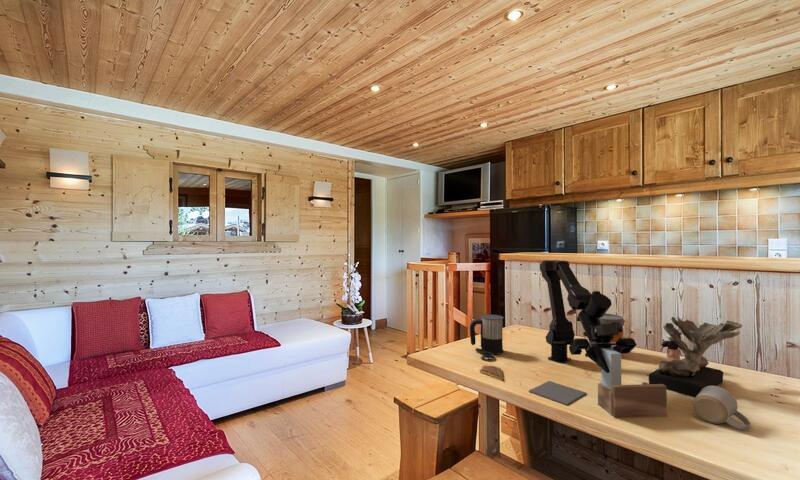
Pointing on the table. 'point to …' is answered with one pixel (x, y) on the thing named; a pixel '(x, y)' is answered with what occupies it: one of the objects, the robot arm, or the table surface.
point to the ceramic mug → (718, 407)
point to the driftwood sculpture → (692, 357)
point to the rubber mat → (557, 392)
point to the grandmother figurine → (671, 349)
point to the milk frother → (488, 335)
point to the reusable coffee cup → (611, 319)
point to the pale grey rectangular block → (611, 368)
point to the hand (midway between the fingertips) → (613, 372)
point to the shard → (492, 371)
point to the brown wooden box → (634, 400)
